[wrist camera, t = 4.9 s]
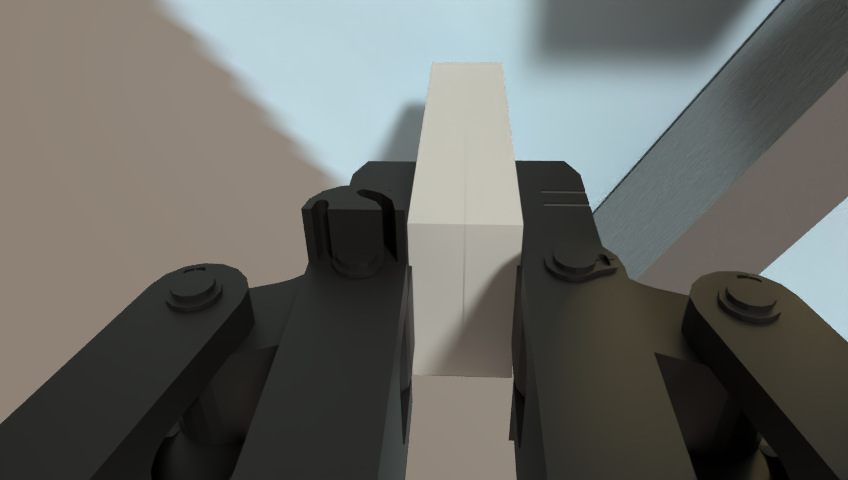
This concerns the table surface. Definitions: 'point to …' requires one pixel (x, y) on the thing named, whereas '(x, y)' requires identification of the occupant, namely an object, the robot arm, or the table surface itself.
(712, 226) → the tong arm
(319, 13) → the table surface
